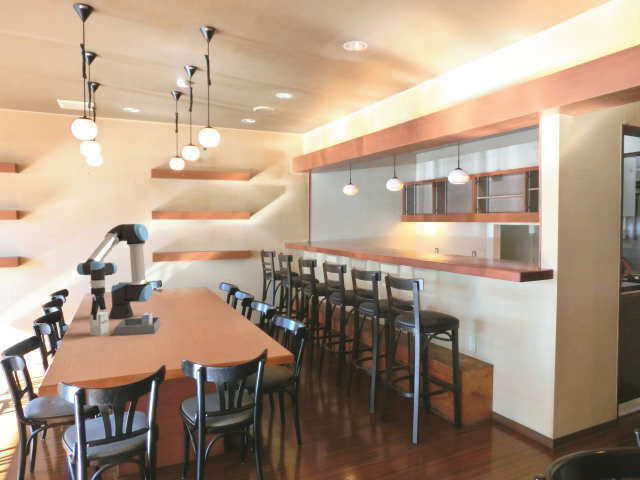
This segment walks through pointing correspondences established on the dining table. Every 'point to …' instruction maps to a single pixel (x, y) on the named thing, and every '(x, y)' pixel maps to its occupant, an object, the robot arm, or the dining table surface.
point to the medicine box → (147, 319)
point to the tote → (136, 326)
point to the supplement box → (100, 324)
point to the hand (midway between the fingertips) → (98, 322)
